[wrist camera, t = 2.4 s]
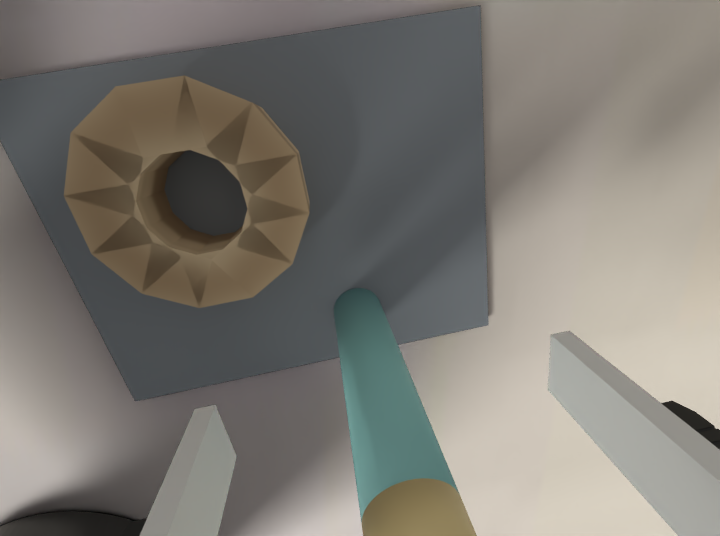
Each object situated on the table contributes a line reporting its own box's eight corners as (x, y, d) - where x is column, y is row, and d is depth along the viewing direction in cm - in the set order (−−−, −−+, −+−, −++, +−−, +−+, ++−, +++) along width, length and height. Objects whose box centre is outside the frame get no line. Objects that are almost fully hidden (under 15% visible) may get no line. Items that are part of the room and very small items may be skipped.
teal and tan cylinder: (338, 334, 21) (383, 656, 8) (329, 293, 20) (365, 587, 7) (383, 325, 21) (499, 625, 8) (377, 283, 20) (497, 552, 7)
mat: (139, 394, 21) (135, 401, 21) (-17, 86, 15) (-29, 84, 14) (484, 320, 23) (488, 325, 22) (474, 9, 16) (480, 5, 16)
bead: (152, 294, 19) (124, 323, 16) (71, 107, 15) (18, 101, 12) (322, 261, 19) (324, 282, 16) (281, 73, 16) (276, 60, 13)
